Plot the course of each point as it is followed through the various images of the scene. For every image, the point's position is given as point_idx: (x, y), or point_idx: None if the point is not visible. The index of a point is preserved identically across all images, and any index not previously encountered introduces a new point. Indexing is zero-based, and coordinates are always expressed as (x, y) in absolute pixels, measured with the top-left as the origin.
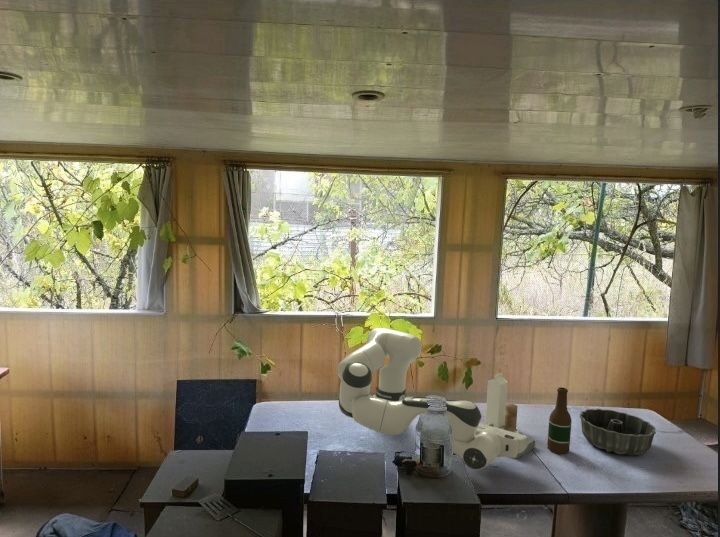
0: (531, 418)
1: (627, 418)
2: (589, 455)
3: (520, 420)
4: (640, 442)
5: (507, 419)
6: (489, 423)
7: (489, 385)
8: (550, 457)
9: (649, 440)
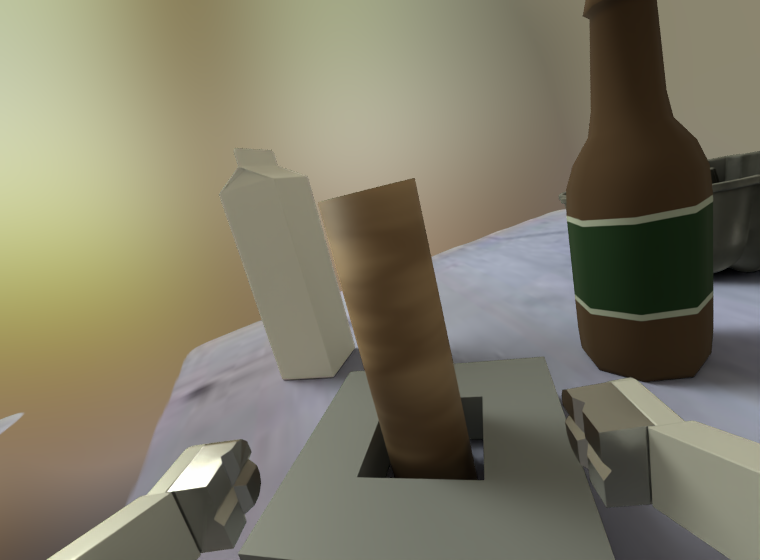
0: None
1: None
2: (757, 312)
3: None
4: None
5: (376, 310)
6: (179, 464)
7: (232, 211)
8: (719, 429)
9: None
